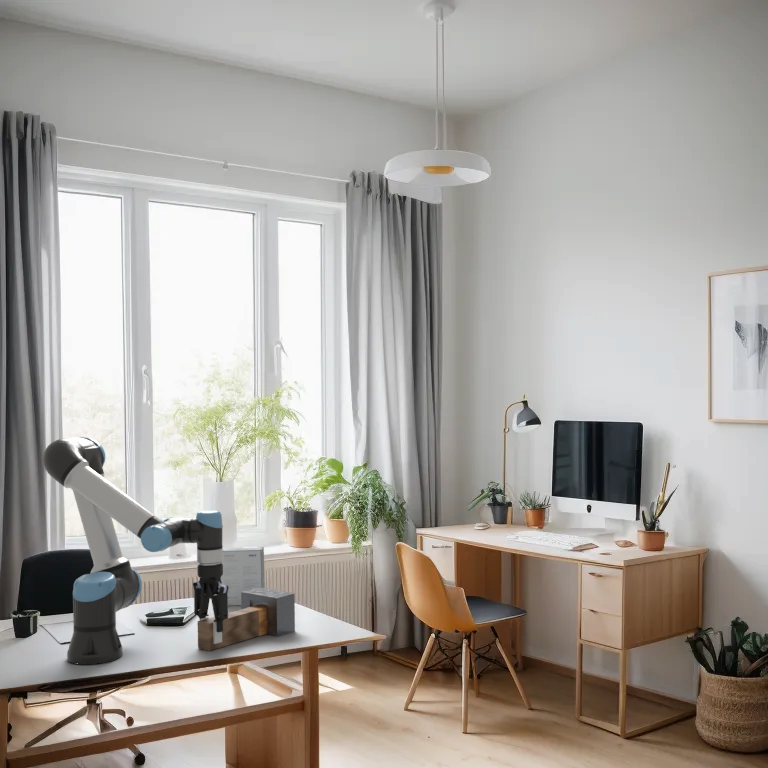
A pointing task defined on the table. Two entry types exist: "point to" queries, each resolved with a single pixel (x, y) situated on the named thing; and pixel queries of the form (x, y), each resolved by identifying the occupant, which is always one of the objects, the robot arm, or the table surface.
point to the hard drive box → (242, 571)
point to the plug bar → (235, 627)
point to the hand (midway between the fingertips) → (211, 641)
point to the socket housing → (273, 608)
